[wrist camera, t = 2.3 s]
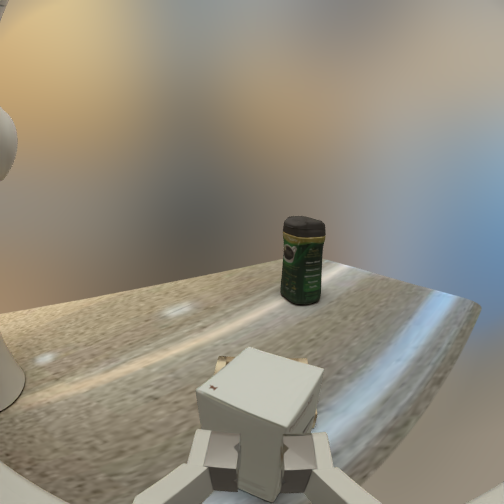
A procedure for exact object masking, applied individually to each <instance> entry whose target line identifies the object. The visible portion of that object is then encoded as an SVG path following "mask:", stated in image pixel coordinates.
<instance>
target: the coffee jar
mask: <svg viewBox="0 0 504 504" xmlns="http://www.w3.org/2000/svg"><path fill="white" fill-rule="evenodd" d="M283 239H284V255H283V268H282V279H281V294H282V295H283V296H284V297H285V298H287V299H288V300H289V301H291V302H293V303H295V304H311V303H314V302H316V301H318V300H319V299H320V295H321V273H322V251H323V244H324V241H325V224H324V223H323V222H322V221H319V220H316V219H312V218H309V217H304V216H291V217H288V218H287V219H286V220H285V222H284V227H283Z"/></svg>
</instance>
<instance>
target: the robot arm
mask: <svg viewBox="0 0 504 504" xmlns="http://www.w3.org/2000/svg"><path fill="white" fill-rule="evenodd" d="M8 1H9V0H0V20H1V18H2V15H3V13H4V10H5V7H6V5H7V3H8ZM16 152H17V132H16V128H15V125H14V122H13V120H12V119H11V117H10V116H9V115H8V114H7V113H6V112H5V111H4V110H3V109H2V108H1V107H0V181H2V180H3V179H4V178H5V177H6V176H7V174H8V173H9V170H10V169H11V167H12V165H13V162H14V159H15V156H16ZM24 383H25V375H24V372H23V370H22V368H21V367H20V366H19V365H18V363H17V362H16V360H15V359H14V357H13V355H12V353H11V352H10V350H9V349H8V347H7V345H6V343H5V341H4V339H3V337H2V335H1V333H0V411H1V410H3V409H5V408H6V407H8V406H9V405H10V404H11V403H13V402H14V401H15V400H16V398H17V397H18V396H19V394H20V393H21V391H22V389H23V387H24ZM281 443H282V446H281V447H280V456H279V469H280V470H281V473H280V493H304V494H305V495H306V497H307V498H308V499H309V500H310V501H311V503H312V504H382V503H381V502H379V501H378V500H377V499H375V498H374V497H373V496H372V495H370V494H369V493H368V492H366V491H365V490H364V489H363V488H362V487H360V486H359V485H358V484H357V483H356V482H354V481H353V480H352V479H351V478H350V477H348V476H347V475H346V474H345V473H344V472H343V471H341V470H340V469H339V468H338V467H336V468H334V467H333V462H332V456H331V451H330V446H329V441H328V436H327V433H326V432H320V433H298V434H283V435H282V439H281ZM240 465H241V434H240V433H229V432H220V431H211V430H203V429H197V431H196V432H195V436H194V440H193V443H192V447H191V451H190V454H189V458H188V462H187V464H181V465H180V466H179V467H177V468H176V469H175V470H173V471H172V472H171V473H169V474H168V475H167V476H165V477H164V478H162V479H161V480H159V481H158V482H157V483H155V484H154V485H152V486H151V487H149V488H148V489H146V490H145V491H143V492H142V493H140V494H139V495H137V496H136V497H135V499H134V502H133V504H201V503H202V502H203V501H204V500H205V499H206V498H207V497H208V496H209V495H210V494H211V493H212V492H213V490H216V491H229V492H238V485H239V469H240ZM0 504H70V503H68V502H66V501H64V500H62V499H60V498H58V497H56V496H54V495H52V494H51V493H49V492H47V491H45V490H44V489H42V488H40V487H38V486H37V485H35V484H33V483H32V482H30V481H29V480H27V479H26V478H24V477H23V476H21V475H20V474H18V473H17V472H15V471H14V470H12V469H11V468H9V467H8V466H7V465H5V464H4V463H3V462H1V461H0ZM465 504H504V482H502V483H500V484H499V485H497V486H496V487H494V488H492V489H491V490H489V491H487V492H485V493H484V494H482V495H480V496H479V497H477V498H475V499H473V500H471V501H469V502H467V503H465Z"/></svg>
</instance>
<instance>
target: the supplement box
mask: <svg viewBox="0 0 504 504" xmlns="http://www.w3.org/2000/svg"><path fill="white" fill-rule="evenodd" d="M323 373H324V369H323V368H319V367H316V366H312V365H308V364H305V363H301V362H298V361H294V360H291V359H288V358H284V357H281V356H277V355H274V354H271V353H267V352H264V351H261V350H258V349H255V348H252V347H247V348H246V349H245V350H243V351H242V352H241V353H240V354H239V355H238V356H236V357H235V358H234V359H233V360H232V361H231V362H229V363H228V364H227V365H226V366H224V367H223V368H222V369H221V370H220V371H218V372H217V373H216V374H215V375H214V376H212V377H211V378H210V379H209V380H207V381H206V382H205V383H204V384H202V385H201V386H200V387H198V388H197V389H196V396H197V404H198V411H199V417H200V423H201V429H203V430H211V431H220V432H229V433H240V434H241V465H240V469H239V485H238V488H239V489H241V490H243V491H246V492H248V493H250V494H252V495H254V496H257V497H259V498H261V499H264V500H266V501H269V502H274V500H275V499H276V497H277V495H278V494H279V492H280V473H281V470H280V469H279V456H280V447H281V446H282V443H281V439H282V435H283V434H298V433H311V429H312V425H313V421H314V417H315V412H316V408H317V403H318V398H319V393H320V388H321V384H322V378H323Z"/></svg>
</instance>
